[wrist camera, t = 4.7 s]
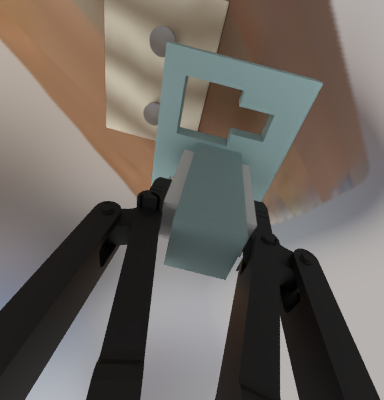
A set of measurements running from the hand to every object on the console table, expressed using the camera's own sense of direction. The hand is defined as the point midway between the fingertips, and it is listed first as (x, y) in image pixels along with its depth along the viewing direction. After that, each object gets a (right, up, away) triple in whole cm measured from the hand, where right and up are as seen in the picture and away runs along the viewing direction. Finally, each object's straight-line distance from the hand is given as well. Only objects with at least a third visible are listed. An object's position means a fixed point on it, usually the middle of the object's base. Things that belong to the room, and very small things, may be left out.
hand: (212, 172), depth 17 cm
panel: (0, +1, +2) cm, 3 cm away
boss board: (-6, +15, +13) cm, 20 cm away
